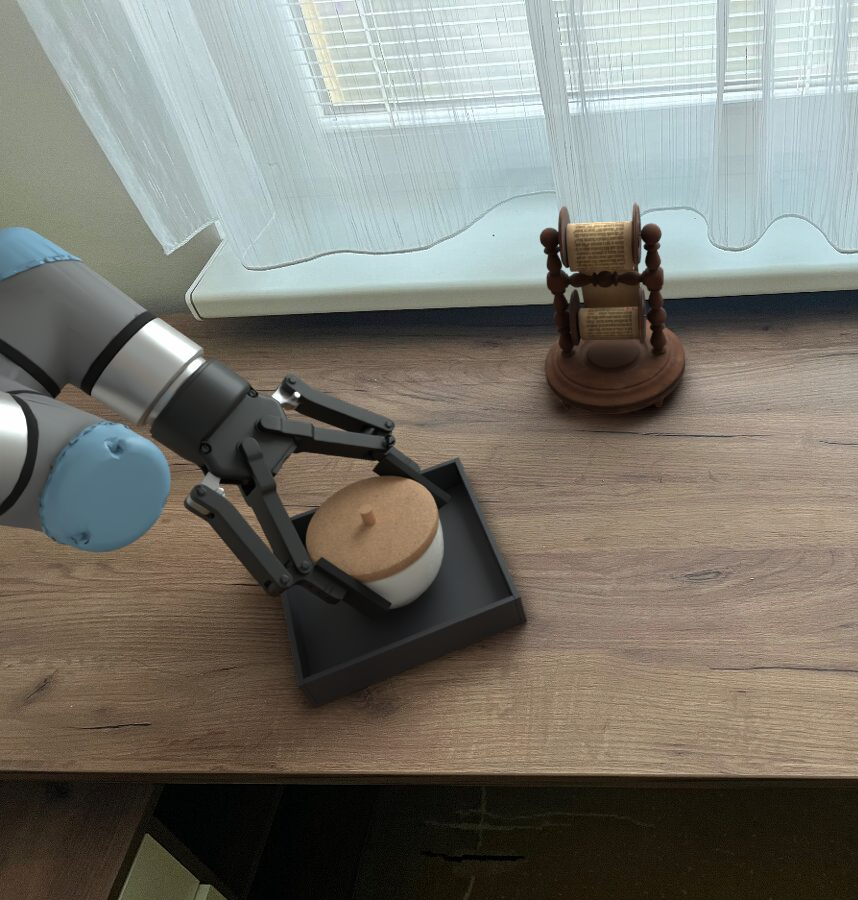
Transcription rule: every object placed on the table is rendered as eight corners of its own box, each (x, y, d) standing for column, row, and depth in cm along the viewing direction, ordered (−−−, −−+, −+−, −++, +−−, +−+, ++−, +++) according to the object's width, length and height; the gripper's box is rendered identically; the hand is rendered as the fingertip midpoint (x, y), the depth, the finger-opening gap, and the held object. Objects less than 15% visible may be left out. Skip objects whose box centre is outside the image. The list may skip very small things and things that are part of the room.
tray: (312, 708, 68) (297, 686, 66) (281, 548, 81) (267, 525, 78) (527, 621, 72) (520, 597, 70) (466, 481, 85) (458, 456, 82)
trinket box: (471, 536, 79) (448, 464, 72) (435, 638, 72) (406, 567, 65) (360, 529, 81) (328, 457, 74) (315, 626, 74) (275, 557, 67)
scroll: (687, 333, 98) (680, 165, 84) (684, 424, 87) (675, 249, 73) (557, 336, 100) (529, 173, 86) (538, 425, 89) (504, 256, 75)
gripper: (247, 325, 76) (448, 474, 83) (62, 525, 61) (327, 687, 68) (276, 279, 71) (489, 441, 78) (82, 484, 56) (367, 664, 62)
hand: (414, 556), depth 73 cm, fingers closed on trinket box, 11 cm apart
